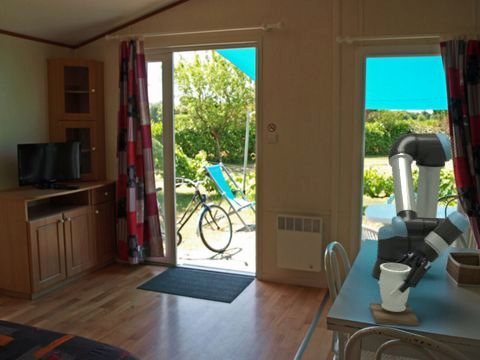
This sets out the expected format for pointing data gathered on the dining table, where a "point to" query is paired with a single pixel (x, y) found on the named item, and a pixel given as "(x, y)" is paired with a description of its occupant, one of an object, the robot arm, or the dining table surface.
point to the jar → (393, 285)
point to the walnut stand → (393, 316)
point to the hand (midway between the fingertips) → (386, 291)
